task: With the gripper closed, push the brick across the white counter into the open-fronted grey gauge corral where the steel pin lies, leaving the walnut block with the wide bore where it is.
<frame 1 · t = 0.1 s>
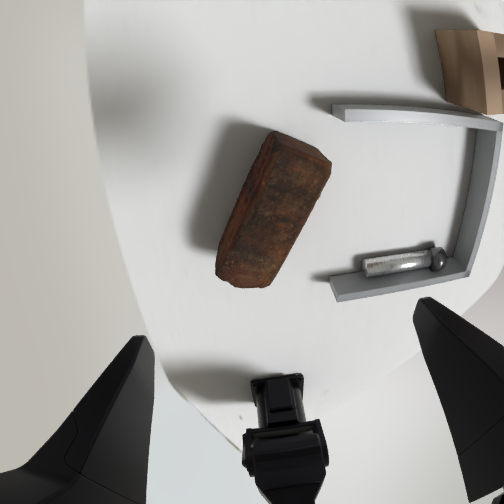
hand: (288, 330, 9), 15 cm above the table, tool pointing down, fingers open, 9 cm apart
brick: (263, 199, 23), on the table
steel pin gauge: (400, 257, 26), on the table
gauge corral: (409, 198, 23), on the table
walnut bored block: (467, 65, 17), on the table
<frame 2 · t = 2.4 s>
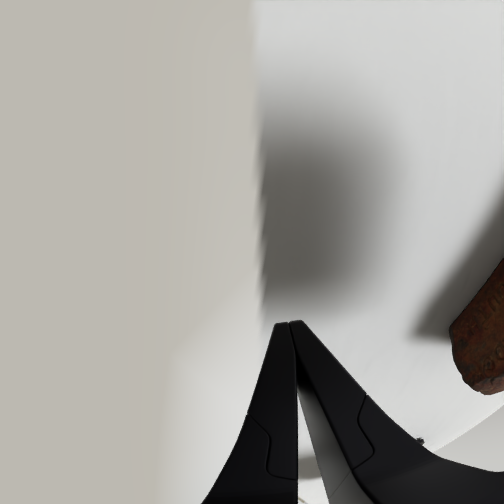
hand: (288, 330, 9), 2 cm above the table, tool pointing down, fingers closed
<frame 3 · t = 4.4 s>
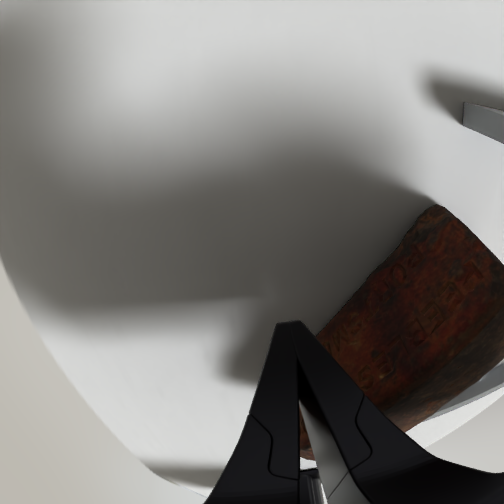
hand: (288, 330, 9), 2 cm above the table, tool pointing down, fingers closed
brick: (370, 314, 12), on the table, touching gripper
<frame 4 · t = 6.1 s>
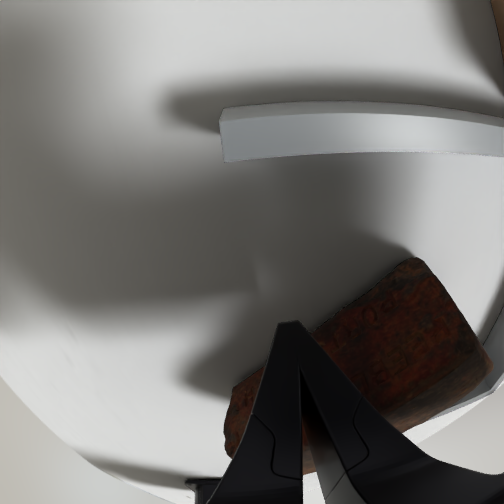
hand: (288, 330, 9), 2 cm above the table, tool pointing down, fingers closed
brick: (331, 344, 13), on the table, touching gauge corral, gripper
gauge corral: (417, 300, 12), on the table
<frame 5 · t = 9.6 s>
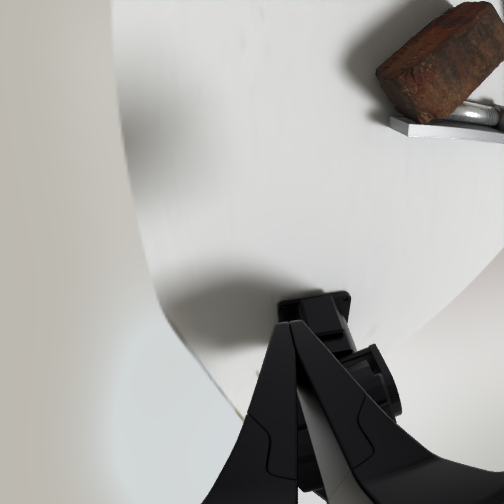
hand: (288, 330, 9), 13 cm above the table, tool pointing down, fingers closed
brick: (427, 54, 16), on the table, touching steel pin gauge
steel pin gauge: (463, 110, 17), on the table
gauge corral: (463, 37, 14), on the table
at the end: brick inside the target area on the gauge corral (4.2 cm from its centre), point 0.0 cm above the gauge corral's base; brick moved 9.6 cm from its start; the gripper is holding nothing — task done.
